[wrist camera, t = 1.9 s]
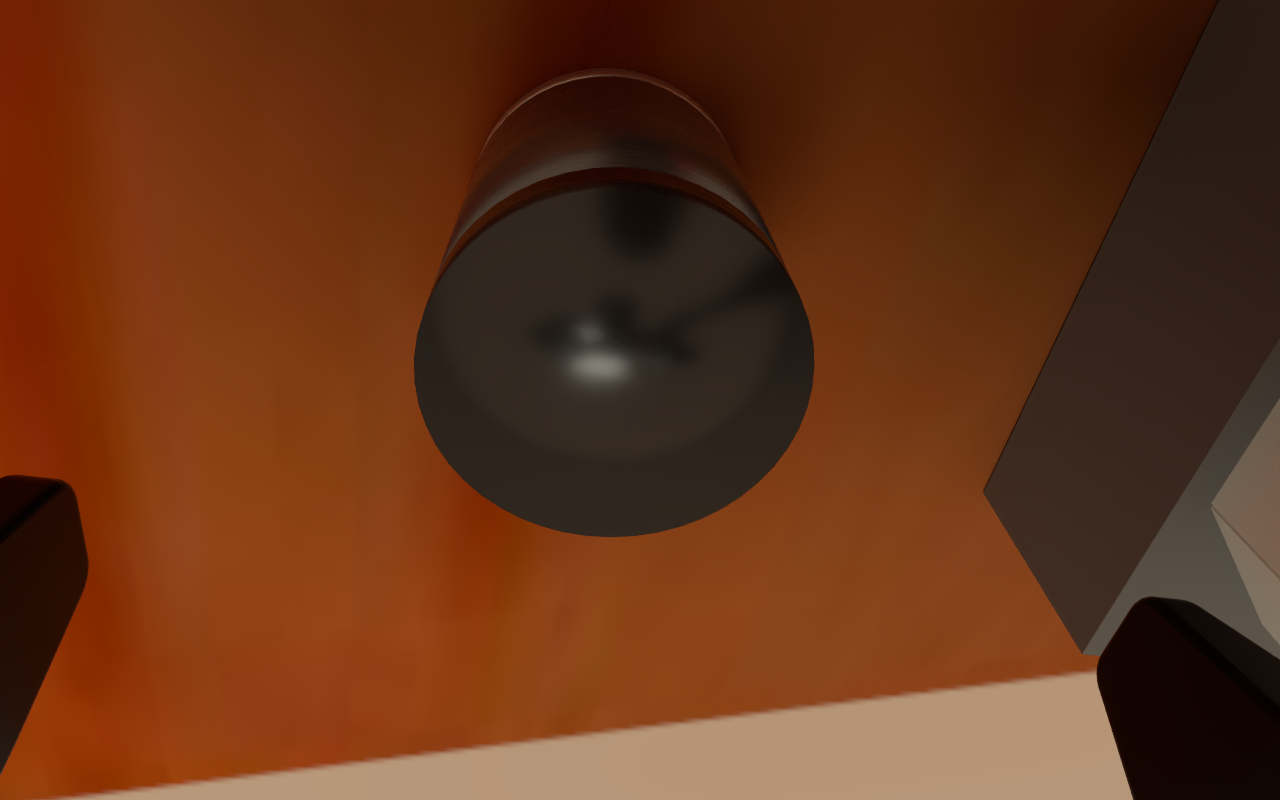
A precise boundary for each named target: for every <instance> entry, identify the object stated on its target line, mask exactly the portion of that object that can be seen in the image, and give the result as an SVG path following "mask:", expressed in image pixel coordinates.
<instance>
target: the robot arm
mask: <svg viewBox="0 0 1280 800" xmlns="http://www.w3.org/2000/svg"><path fill="white" fill-rule="evenodd" d="M88 564H89V563H88V555H87V549H86V544H85V539H84V534H83V529H82V523H81V518H80V513H79V508H78V503H77V498H76V495H75V492H74V490H73V488H72V487H71V485H69V484H68V483H67V482H65V481H63V480H59V479H52V478H42V477H33V476H24V475H9V476H5V477H2V478H0V775H1V773H2V771H3V769H4V766H5V764H6V762H7V760H8V758H9V756H10V754H11V752H12V750H13V748H14V746H15V743H16V741H17V739H18V737H19V735H20V732H21V730H22V728H23V726H24V723H25V721H26V719H27V717H28V714H29V712H30V710H31V708H32V705H33V703H34V701H35V699H36V696H37V694H38V692H39V690H40V687H41V685H42V683H43V681H44V679H45V676H46V674H47V672H48V670H49V667H50V665H51V663H52V661H53V658H54V656H55V654H56V652H57V649H58V647H59V645H60V643H61V640H62V638H63V636H64V634H65V631H66V629H67V627H68V625H69V622H70V620H71V618H72V616H73V613H74V611H75V609H76V607H77V604H78V602H79V600H80V598H81V595H82V593H83V590H84V588H85V584H86V581H87V576H88ZM1097 683H1098V687H1099V690H1100V693H1101V697H1102V700H1103V703H1104V706H1105V710H1106V713H1107V716H1108V719H1109V723H1110V725H1111V729H1112V732H1113V735H1114V739H1115V742H1116V745H1117V748H1118V752H1119V755H1120V758H1121V761H1122V765H1123V768H1124V771H1125V774H1126V777H1127V781H1128V784H1129V787H1130V790H1131V794H1132V797H1133V800H1280V659H1279V658H1277V657H1276V656H1274V655H1273V654H1271V653H1270V652H1268V651H1267V650H1265V649H1264V648H1262V647H1260V646H1259V645H1257V644H1256V643H1254V642H1253V641H1251V640H1250V639H1248V638H1247V637H1245V636H1244V635H1242V634H1241V633H1239V632H1238V631H1236V630H1235V629H1233V628H1232V627H1230V626H1229V625H1227V624H1226V623H1224V622H1223V621H1221V620H1220V619H1218V618H1217V617H1215V616H1213V615H1212V614H1210V613H1209V612H1207V611H1206V610H1204V609H1203V608H1201V607H1200V606H1198V605H1196V604H1195V603H1192V602H1190V601H1187V600H1182V599H1173V598H1163V597H1154V596H1149V597H1144V598H1142V599H1140V600H1139V601H1137V602H1136V603H1134V605H1133V606H1132V607H1131V609H1130V610H1129V612H1128V613H1127V615H1126V616H1125V618H1124V619H1123V621H1122V623H1121V624H1120V626H1119V627H1118V629H1117V630H1116V632H1115V633H1114V635H1113V636H1112V638H1111V640H1110V641H1109V643H1108V644H1107V646H1106V647H1105V649H1104V650H1103V652H1102V654H1101V656H1100V658H1099V661H1098V664H1097Z"/></svg>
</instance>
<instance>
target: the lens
mask: <svg viewBox="0 0 1280 800" xmlns="http://www.w3.org/2000/svg"><path fill="white" fill-rule="evenodd" d="M414 374H415V386H416V392H417V397H418V403H419V406H420V409H421V412H422V415H423V418H424V421H425V424H426V426H427V428H428V430H429V432H430V434H431V436H432V438H433V440H434V442H435V444H436V446H437V447H438V449H439V450H440V452H441V453H442V454H443V456H444V457H445V459H446V460H447V462H448V463H449V464H450V465H451V467H452V468H453V469H454V470H455V471H456V472H457V473H458V474H459V475H460V476H461V478H462V479H463V480H464V481H465V482H467V483H468V484H469V485H470V486H471V487H472V488H474V489H475V490H476V491H477V492H478V493H479V494H481V495H482V496H483V497H485V498H486V499H488V500H489V501H491V502H492V503H494V504H495V505H497V506H498V507H500V508H502V509H504V510H506V511H508V512H510V513H512V514H514V515H515V516H517V517H519V518H522V519H524V520H527V521H529V522H532V523H535V524H537V525H540V526H543V527H547V528H550V529H554V530H558V531H562V532H566V533H573V534H579V535H585V536H600V537H623V536H637V535H644V534H651V533H657V532H661V531H665V530H669V529H673V528H677V527H680V526H683V525H686V524H688V523H691V522H694V521H697V520H699V519H702V518H704V517H706V516H708V515H710V514H712V513H714V512H716V511H718V510H720V509H722V508H724V507H725V506H727V505H728V504H730V503H731V502H733V501H735V500H736V499H738V498H739V497H741V496H742V495H743V494H745V493H746V492H747V491H748V490H750V489H751V488H752V487H753V486H754V485H756V484H757V483H758V482H759V481H760V480H761V479H762V478H763V477H764V476H765V475H766V474H767V473H768V472H769V471H770V470H771V469H772V468H773V467H774V466H775V464H776V463H777V462H778V460H779V459H780V458H781V456H782V455H783V454H784V453H785V451H786V450H787V449H788V447H789V445H790V443H791V442H792V440H793V438H794V436H795V435H796V433H797V431H798V429H799V427H800V424H801V422H802V420H803V417H804V415H805V412H806V410H807V406H808V402H809V398H810V394H811V390H812V384H813V374H814V348H813V339H812V334H811V329H810V324H809V320H808V317H807V314H806V312H805V309H804V306H803V304H802V301H801V298H800V296H799V294H798V292H797V290H796V288H795V285H794V283H793V281H792V279H791V277H790V275H789V273H788V271H787V269H786V266H785V264H784V262H783V260H782V258H781V256H780V254H779V252H778V249H777V247H776V245H775V243H774V241H773V239H772V237H771V235H770V233H769V230H768V228H767V226H766V224H765V222H764V220H763V218H762V216H761V213H760V211H759V209H758V207H757V205H756V203H755V201H754V199H753V197H752V194H751V192H750V190H749V188H748V186H747V184H746V182H745V180H744V178H743V175H742V173H741V171H740V169H739V167H738V165H737V163H736V161H735V158H734V156H733V154H732V152H731V150H730V148H729V146H728V144H727V142H726V140H725V138H724V136H723V135H722V133H721V131H720V129H719V128H718V126H717V125H716V124H715V122H714V121H713V120H712V118H711V117H710V116H709V114H708V113H707V112H706V111H705V110H704V109H703V108H702V107H701V106H700V105H699V104H698V103H697V102H696V101H694V100H693V99H692V98H691V97H689V96H688V95H687V94H685V93H684V92H683V91H681V90H680V89H678V88H676V87H674V86H673V85H671V84H669V83H667V82H666V81H663V80H661V79H658V78H656V77H653V76H651V75H648V74H644V73H640V72H636V71H632V70H626V69H617V68H592V69H586V70H580V71H574V72H571V73H568V74H564V75H561V76H558V77H555V78H553V79H551V80H549V81H547V82H545V83H543V84H540V85H538V86H537V87H535V88H534V89H532V90H531V91H529V92H528V93H526V94H525V95H523V96H522V97H521V98H520V99H519V100H518V101H517V102H515V103H514V104H513V105H512V106H511V107H510V108H509V109H508V110H507V111H506V112H505V114H504V115H503V116H502V117H501V118H500V119H499V121H498V122H497V123H496V125H495V127H494V128H493V130H492V131H491V133H490V134H489V136H488V138H487V140H486V142H485V144H484V147H483V149H482V151H481V153H480V156H479V159H478V162H477V165H476V167H475V170H474V173H473V176H472V179H471V182H470V184H469V187H468V190H467V193H466V196H465V198H464V201H463V204H462V207H461V210H460V212H459V215H458V218H457V221H456V224H455V226H454V229H453V232H452V235H451V238H450V240H449V243H448V246H447V249H446V252H445V254H444V257H443V260H442V263H441V266H440V268H439V271H438V274H437V277H436V280H435V282H434V285H433V288H432V291H431V294H430V296H429V299H428V302H427V305H426V308H425V310H424V314H423V317H422V320H421V324H420V327H419V331H418V334H417V340H416V348H415V356H414Z"/></svg>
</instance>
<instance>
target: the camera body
mask: <svg viewBox="0 0 1280 800" xmlns="http://www.w3.org/2000/svg"><path fill="white" fill-rule="evenodd" d="M984 495H985V496H986V498H987V499H988V501H989V503H990V504H991V506H992V508H993V509H994V511H995V513H996V514H997V516H998V517H999V519H1000V521H1001V522H1002V524H1003V526H1004V527H1005V529H1006V530H1007V532H1008V534H1009V535H1010V537H1011V539H1012V540H1013V542H1014V544H1015V545H1016V547H1017V548H1018V550H1019V552H1020V553H1021V555H1022V557H1023V558H1024V560H1025V561H1026V563H1027V565H1028V566H1029V568H1030V570H1031V571H1032V573H1033V575H1034V576H1035V578H1036V579H1037V581H1038V583H1039V584H1040V586H1041V588H1042V589H1043V591H1044V592H1045V594H1046V596H1047V597H1048V599H1049V601H1050V602H1051V604H1052V606H1053V607H1054V609H1055V610H1056V612H1057V614H1058V615H1059V617H1060V619H1061V620H1062V622H1063V623H1064V625H1065V627H1066V628H1067V630H1068V632H1069V633H1070V635H1071V637H1072V638H1073V640H1074V641H1075V643H1076V645H1077V646H1078V648H1079V650H1080V651H1081V653H1082V654H1088V655H1098V656H1101V654H1102V652H1103V650H1104V649H1105V647H1106V646H1107V644H1108V643H1109V641H1110V640H1111V638H1112V636H1113V635H1114V633H1115V632H1116V630H1117V629H1118V627H1119V626H1120V624H1121V623H1122V621H1123V619H1124V618H1125V616H1126V615H1127V613H1128V612H1129V610H1130V609H1131V607H1132V606H1133V605H1134V603H1136V602H1137V601H1139V600H1140V599H1142V598H1144V597H1149V596H1154V597H1163V598H1173V599H1182V600H1187V601H1190V602H1192V603H1195V604H1196V605H1198V606H1200V607H1201V608H1203V609H1204V610H1206V611H1207V612H1209V613H1210V614H1212V615H1213V616H1215V617H1217V618H1218V619H1220V620H1221V621H1223V622H1224V623H1226V624H1227V625H1229V626H1230V627H1232V628H1233V629H1235V630H1236V631H1238V632H1239V633H1241V634H1242V635H1244V636H1245V637H1247V638H1248V639H1250V640H1251V641H1253V642H1254V643H1256V644H1257V645H1259V646H1260V647H1262V648H1264V649H1265V650H1267V651H1268V652H1270V653H1271V654H1273V655H1274V656H1276V657H1277V658H1279V659H1280V0H1219V1H1218V3H1217V5H1216V7H1215V10H1214V12H1213V14H1212V16H1211V18H1210V20H1209V22H1208V24H1207V26H1206V28H1205V30H1204V33H1203V35H1202V37H1201V39H1200V41H1199V43H1198V45H1197V47H1196V49H1195V51H1194V53H1193V56H1192V58H1191V60H1190V62H1189V64H1188V66H1187V68H1186V70H1185V72H1184V74H1183V76H1182V79H1181V81H1180V83H1179V85H1178V87H1177V89H1176V91H1175V93H1174V95H1173V97H1172V100H1171V102H1170V104H1169V106H1168V108H1167V110H1166V112H1165V114H1164V116H1163V118H1162V120H1161V123H1160V125H1159V127H1158V129H1157V131H1156V133H1155V135H1154V137H1153V139H1152V141H1151V143H1150V146H1149V148H1148V150H1147V152H1146V154H1145V156H1144V158H1143V160H1142V162H1141V164H1140V166H1139V169H1138V171H1137V173H1136V175H1135V177H1134V179H1133V181H1132V183H1131V185H1130V187H1129V189H1128V192H1127V194H1126V196H1125V198H1124V200H1123V202H1122V204H1121V206H1120V208H1119V210H1118V212H1117V215H1116V217H1115V219H1114V221H1113V223H1112V225H1111V227H1110V229H1109V231H1108V233H1107V235H1106V238H1105V240H1104V242H1103V244H1102V246H1101V248H1100V250H1099V252H1098V254H1097V256H1096V258H1095V261H1094V263H1093V265H1092V267H1091V269H1090V271H1089V273H1088V275H1087V277H1086V279H1085V281H1084V284H1083V286H1082V288H1081V290H1080V292H1079V294H1078V296H1077V298H1076V300H1075V302H1074V304H1073V307H1072V309H1071V311H1070V313H1069V315H1068V317H1067V319H1066V321H1065V323H1064V325H1063V327H1062V330H1061V332H1060V334H1059V336H1058V338H1057V340H1056V342H1055V344H1054V346H1053V348H1052V350H1051V353H1050V355H1049V357H1048V359H1047V361H1046V363H1045V365H1044V367H1043V369H1042V371H1041V373H1040V376H1039V378H1038V380H1037V382H1036V384H1035V386H1034V388H1033V390H1032V392H1031V394H1030V396H1029V399H1028V401H1027V403H1026V405H1025V407H1024V409H1023V411H1022V413H1021V415H1020V417H1019V419H1018V422H1017V424H1016V426H1015V428H1014V430H1013V432H1012V434H1011V436H1010V438H1009V440H1008V442H1007V445H1006V447H1005V449H1004V451H1003V453H1002V455H1001V457H1000V459H999V461H998V463H997V465H996V468H995V470H994V472H993V474H992V476H991V478H990V480H989V482H988V484H987V486H986V488H985V491H984Z"/></svg>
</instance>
